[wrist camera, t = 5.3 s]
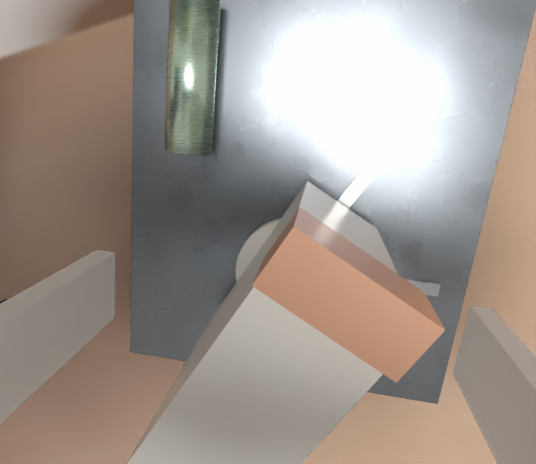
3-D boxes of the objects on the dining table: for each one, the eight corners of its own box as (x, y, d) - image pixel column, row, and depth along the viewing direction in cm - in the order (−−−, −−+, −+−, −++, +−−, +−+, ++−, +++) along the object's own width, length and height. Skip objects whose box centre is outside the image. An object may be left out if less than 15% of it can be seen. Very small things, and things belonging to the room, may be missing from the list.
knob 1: (287, 355, 21) (251, 569, 11) (205, 300, 21) (93, 468, 11) (392, 224, 19) (468, 345, 9) (300, 161, 19) (269, 209, 8)
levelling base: (145, 333, 24) (111, 373, 20) (159, -292, 17) (109, -415, 13) (428, 379, 23) (448, 432, 19) (586, -292, 15) (675, -433, 11)
